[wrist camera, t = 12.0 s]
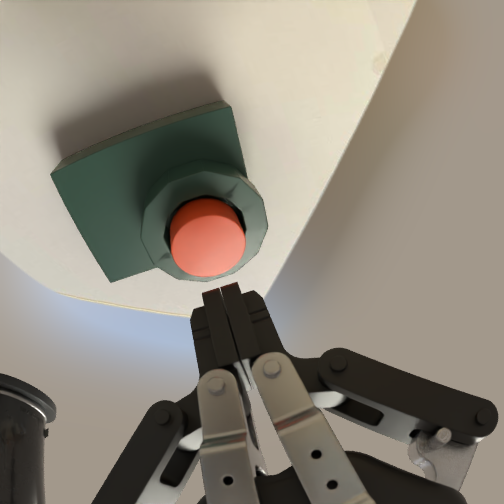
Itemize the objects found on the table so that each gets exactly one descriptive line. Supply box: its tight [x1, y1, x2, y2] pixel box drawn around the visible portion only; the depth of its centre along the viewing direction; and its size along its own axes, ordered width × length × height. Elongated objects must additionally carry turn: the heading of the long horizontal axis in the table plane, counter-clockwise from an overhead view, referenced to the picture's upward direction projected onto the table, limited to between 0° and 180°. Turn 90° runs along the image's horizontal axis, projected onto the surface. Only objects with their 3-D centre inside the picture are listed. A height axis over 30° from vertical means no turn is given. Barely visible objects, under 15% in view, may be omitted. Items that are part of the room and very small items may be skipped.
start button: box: [170, 198, 246, 277], centre depth 15 cm, size 4×4×2 cm
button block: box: [50, 101, 268, 283], centre depth 16 cm, size 10×9×4 cm
